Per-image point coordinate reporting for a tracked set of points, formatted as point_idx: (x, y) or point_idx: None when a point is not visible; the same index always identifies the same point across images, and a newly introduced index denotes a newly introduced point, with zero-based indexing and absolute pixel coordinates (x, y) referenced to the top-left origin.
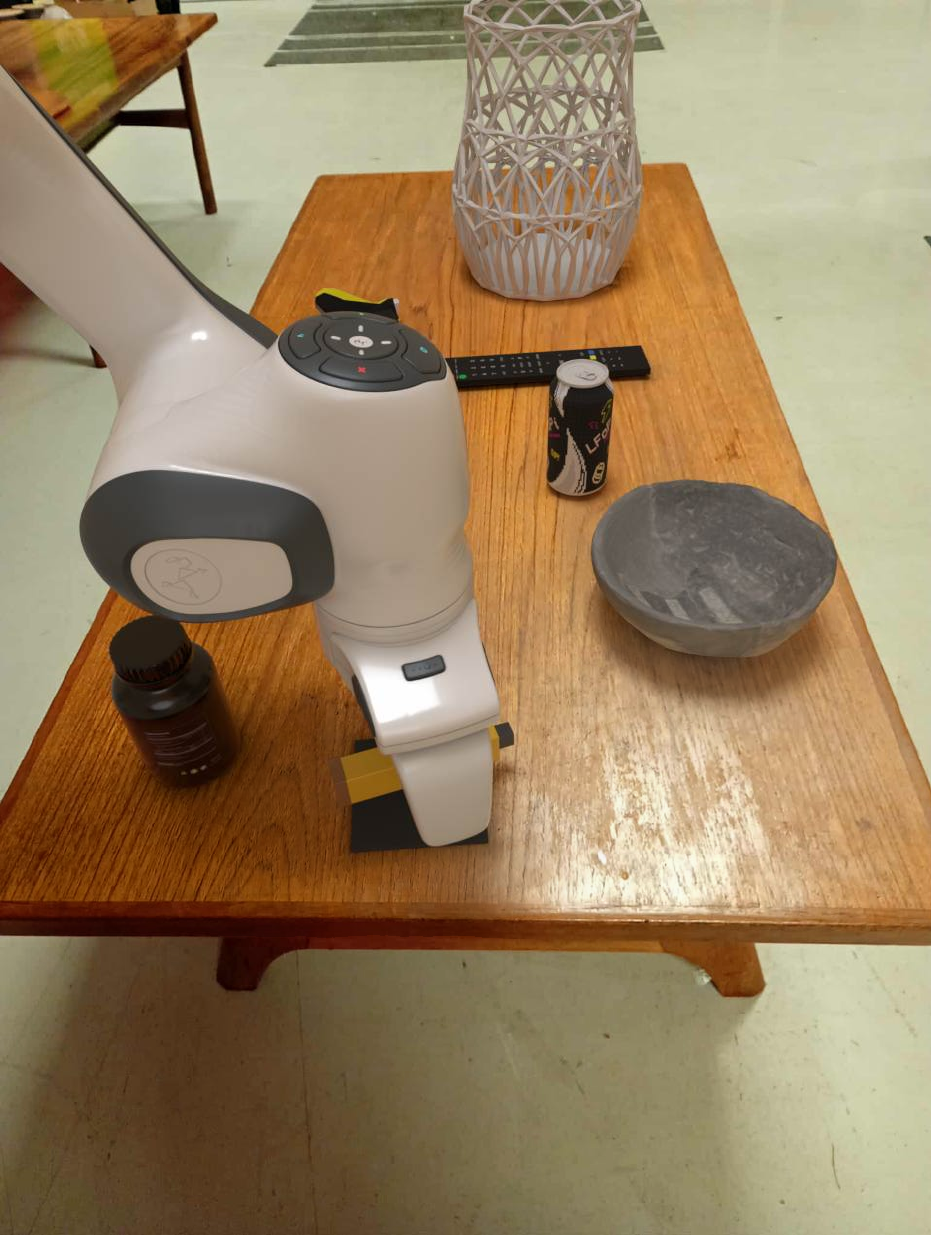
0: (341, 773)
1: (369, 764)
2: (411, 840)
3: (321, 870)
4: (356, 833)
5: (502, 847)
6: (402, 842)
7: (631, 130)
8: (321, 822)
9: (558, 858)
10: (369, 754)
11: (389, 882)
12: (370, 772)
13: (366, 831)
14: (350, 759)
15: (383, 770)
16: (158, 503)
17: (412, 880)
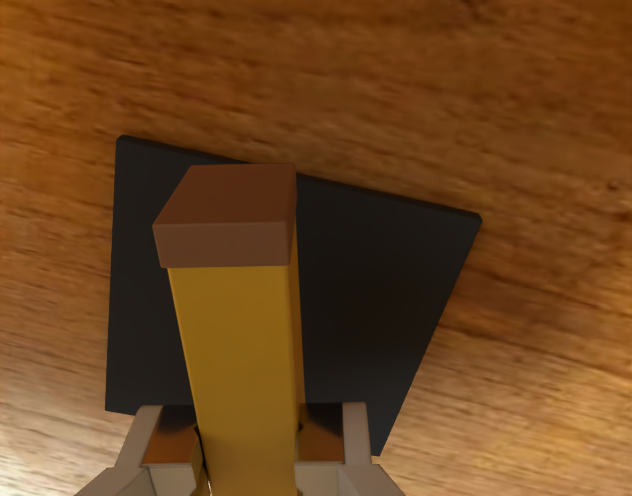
0: (200, 258)
1: (223, 347)
2: (123, 283)
3: (76, 39)
4: (165, 165)
5: (97, 417)
6: (119, 265)
7: None
8: (241, 69)
9: (64, 480)
10: (268, 353)
11: (28, 206)
12: (189, 342)
13: (167, 191)
14: (265, 295)
15: (189, 376)
16: None
17: (31, 254)
